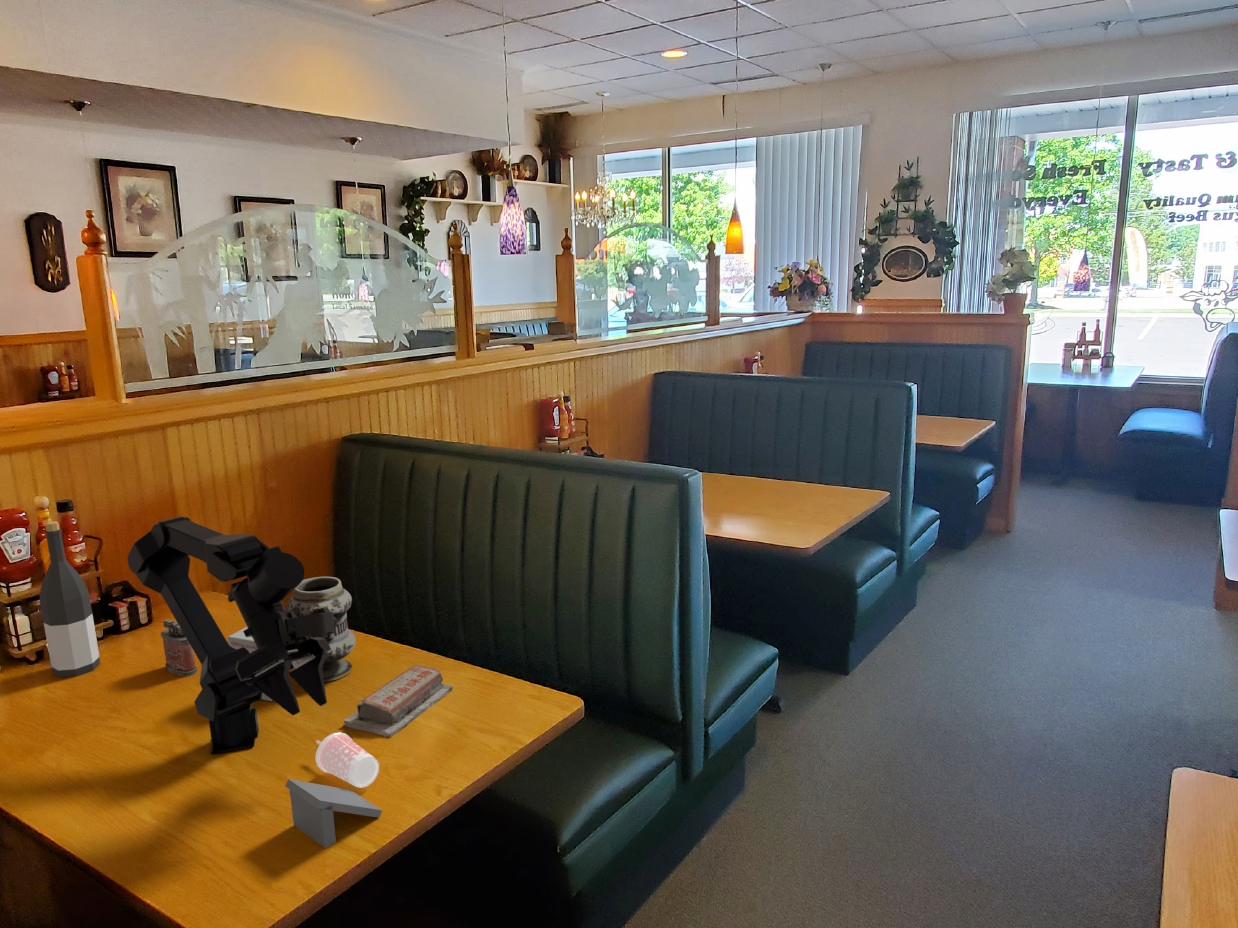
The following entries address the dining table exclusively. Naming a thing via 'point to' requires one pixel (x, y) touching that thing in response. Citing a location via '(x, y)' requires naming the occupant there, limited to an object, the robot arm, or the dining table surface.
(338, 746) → the beverage cup
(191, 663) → the lighter
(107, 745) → the dining table surface
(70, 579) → the wine bottle
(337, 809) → the ramp
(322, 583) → the apothecary jar
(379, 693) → the packaged product
